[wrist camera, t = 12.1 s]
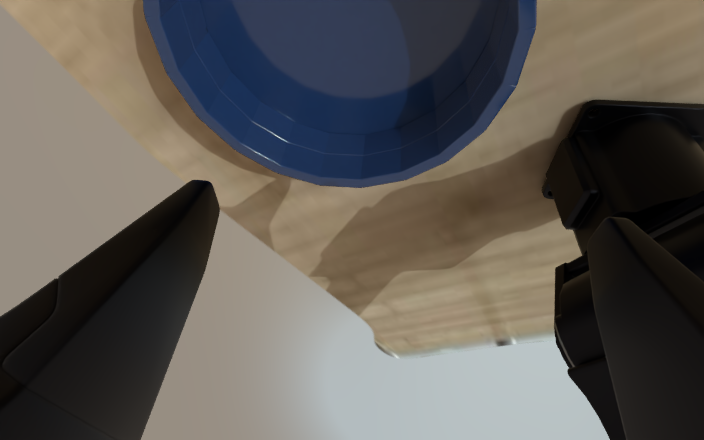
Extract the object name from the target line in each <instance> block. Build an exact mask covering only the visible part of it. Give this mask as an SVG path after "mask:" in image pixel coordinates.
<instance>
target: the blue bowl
mask: <svg viewBox="0 0 704 440" xmlns="http://www.w3.org/2000/svg"><path fill="white" fill-rule="evenodd" d="M143 8H144V15H145V19H146V22H147V24H148V27H149V29H150V32H151V35H152V37H153V40H154V42H155V45H156V48H157V50H158V53H159V55H160V58H161V61H162V63H163V66H164V68H165V71H166V73H167V75H168V76H169V78H170V79H171V80H172V82H173V83H174V85H175V86H176V87H177V89H178V90H179V92H180V93H181V95H182V96H183V97H184V99H185V100H186V102H187V103H188V104H189V106H190V107H191V109H192V110H193V111H194V113H195V114H196V116H197V117H198V118H199V119H200V120H201V121H203V122H204V123H205V124H206V125H207V126H208V127H209V128H210V129H212V130H213V131H214V132H215V133H216V134H217V135H218V136H220V137H221V138H222V139H223V140H224V141H225V142H226V143H227V144H229V145H230V146H231V147H232V148H233V149H234V150H236V151H237V152H239V153H241V154H243V155H244V156H246V157H248V158H250V159H252V160H254V161H255V162H257V163H259V164H261V165H263V166H265V167H266V168H268V169H270V170H272V171H274V172H277V173H278V174H282V175H285V176H289V177H292V178H295V179H299V180H302V181H306V182H309V183H313V184H316V185H320V186H336V187H353V188H362V187H363V188H364V187H370V186H375V185H381V184H387V183H392V182H398V181H404V180H407V179H409V178H412V177H414V176H416V175H418V174H421V173H423V172H425V171H427V170H430V169H432V168H434V167H436V166H439V165H441V164H443V163H445V162H446V161H448V160H450V159H451V158H452V157H453V156H455V155H456V154H457V153H458V152H460V151H461V150H462V149H463V148H465V147H466V146H467V145H468V144H470V143H471V142H472V141H473V140H475V139H476V138H477V137H478V136H480V135H481V134H482V133H483V132H484V130H486V129H487V127H488V126H489V125H490V123H491V122H492V120H493V119H494V118H495V116H496V115H497V113H498V112H499V111H500V109H501V108H502V106H503V105H504V103H505V102H506V101H507V99H508V98H509V96H510V95H511V94H512V92H513V91H514V89H515V88H516V85H517V83H518V80H519V77H520V74H521V71H522V68H523V65H524V62H525V59H526V56H527V53H528V50H529V47H530V44H531V42H532V39H533V36H534V33H535V30H536V16H537V0H143Z"/></svg>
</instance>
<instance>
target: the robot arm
mask: <svg viewBox="0 0 704 440" xmlns="http://www.w3.org/2000/svg"><path fill="white" fill-rule="evenodd" d="M593 109H596V111H594V112H593V113H589V112H590V111H591V110H593ZM546 177H547V179H546V181H545V183H544V185H543V187H542V193H543V195H544V197H545V198H548V199H554V201H555V203H556V206H557V209H558V212H559V215H560V218H561V221H562V224H563V226H564V227H565V228H566V229H570V230H573V231H574V234H575V237H576V240H577V242H578V245H579V248H580V251H581V253H582V256H581V257H579V258H577V259H575V260H573V261H571V262H569V263H564V264H562V265H560V266H558V267H556V269H555V316H554V329H555V337H556V344H557V346H558V348H559V350H560V352H561V354H562V357H563V358H564V360H565V362H566V364H567V366H568V367H569V369H568V375H569V376H570V378H571V379H572V380H573V381H574V383H575V384H576V385H577V386H578V388H579V389H580V390H581V391H582V392H583V394H584V395H585V396H586V397H587V399H588V401H589V402H590V404H591V405H592V407H593V409H594V410H595V412H596V413H597V415H598V416H599V418H600V420H601V422H602V424H603V426H604V428H605V430H606V432H607V434H608V436H609V438H610V440H704V104H685V103H661V102H638V101H614V100H591V101H589V102H587V103H585V104H584V105H583V106H582V108H581V110H580V112H579V114H578V116H577V118H576V120H575V122H574V124H573V126H572V128H571V130H570V132H569V134H568V136H567V138H565V139H564V140H563V141H562V142H561V144H560V146H559V148H558V150H557V153H556V155H555V157H554V159H553V161H552V163H551V165H550V167H549V169H548V171H547V173H546ZM219 212H220V208H219V203H218V200H217V197H216V194H215V191H214V188H213V185H212V184H211V182H209V181H203V180H192V181H190V182H188V183H187V184H186V185H184V186H183V187H182V188H180V189H179V190H177V191H176V192H175V193H173V194H172V195H170V196H169V197H168V198H166V199H165V200H163V201H162V202H161V203H160V204H158V205H157V206H155V207H154V208H152V209H151V210H150V211H148V212H147V213H145V214H144V215H143V216H141V217H140V218H139V219H137V220H136V221H134V222H133V223H132V224H130V225H129V226H127V227H126V228H125V229H123V230H122V231H121V232H119V233H118V234H116V235H115V236H114V237H112V238H111V239H110V240H108V241H107V242H105V243H104V244H103V245H101V246H100V247H99V248H97V249H96V250H94V251H93V252H91V253H90V254H89V255H87V256H86V257H85V258H83V259H82V260H80V261H79V262H78V263H76V264H75V265H73V266H72V267H71V268H69V269H68V270H67V271H65V272H64V273H62V274H61V275H60V276H59V278H58V279H54V280H53V281H51V282H50V283H48V284H47V285H46V286H44V287H43V288H41V289H40V290H39V291H37V292H36V293H34V294H33V295H32V296H30V297H29V298H27V299H26V300H24V301H23V302H21V303H20V304H19V305H17V306H16V307H14V308H13V309H11V310H10V311H8V312H7V313H5V314H4V315H2V316H0V440H141V437H142V435H143V432H144V429H145V426H146V424H147V421H148V419H149V416H150V414H151V411H152V408H153V406H154V403H155V401H156V398H157V395H158V393H159V390H160V387H161V385H162V382H163V380H164V377H165V374H166V372H167V369H168V366H169V364H170V361H171V359H172V355H173V353H174V351H175V348H176V345H177V343H178V340H179V338H180V335H181V332H182V330H183V327H184V324H185V322H186V319H187V317H188V314H189V311H190V309H191V306H192V304H193V301H194V298H195V295H196V293H197V290H198V288H199V285H200V283H201V280H202V277H203V274H204V272H205V269H206V265H207V261H208V257H209V253H210V249H211V245H212V241H213V237H214V233H215V229H216V225H217V221H218V217H219Z"/></svg>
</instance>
